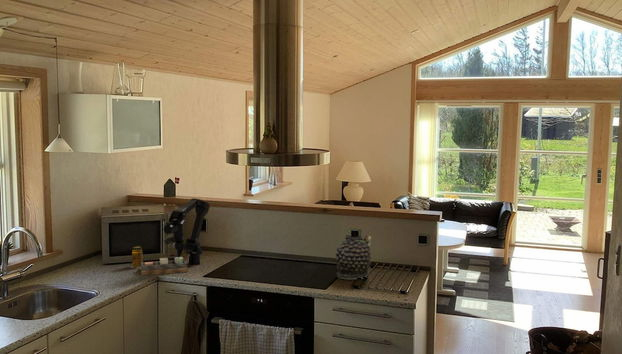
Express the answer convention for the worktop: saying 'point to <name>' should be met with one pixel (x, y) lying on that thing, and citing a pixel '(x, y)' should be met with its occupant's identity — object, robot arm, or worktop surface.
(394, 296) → the worktop surface
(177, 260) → the key sage
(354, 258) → the pine cone figurine
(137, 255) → the condiment
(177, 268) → the keypad
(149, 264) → the key terracotta
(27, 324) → the worktop surface
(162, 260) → the key cream
